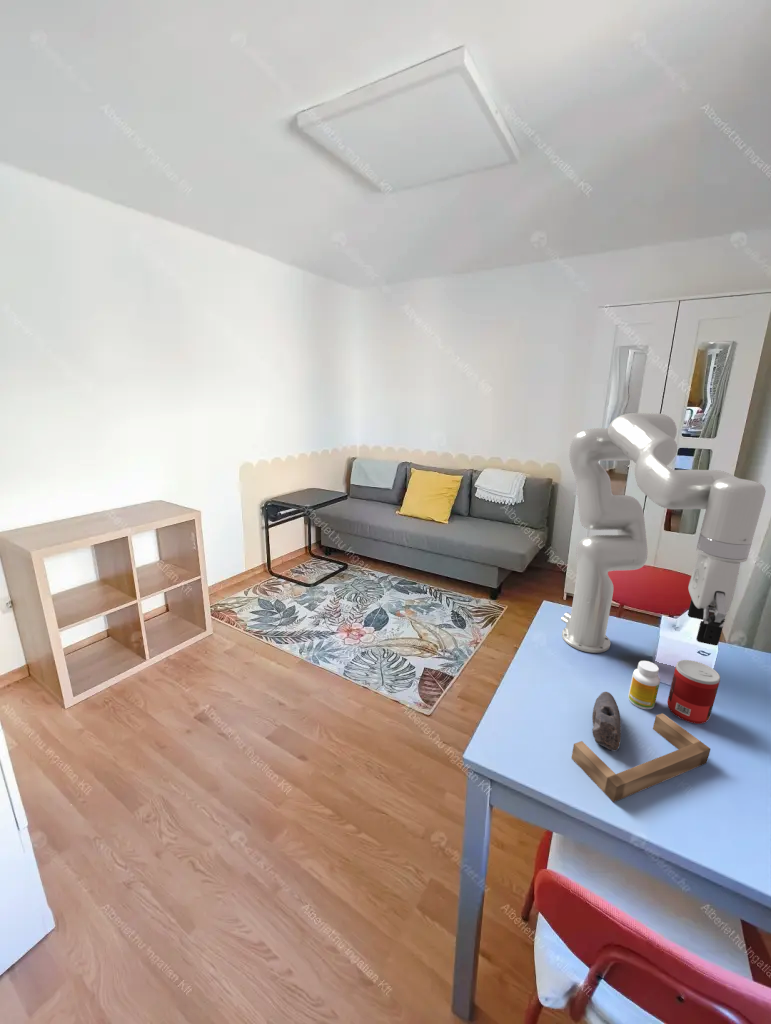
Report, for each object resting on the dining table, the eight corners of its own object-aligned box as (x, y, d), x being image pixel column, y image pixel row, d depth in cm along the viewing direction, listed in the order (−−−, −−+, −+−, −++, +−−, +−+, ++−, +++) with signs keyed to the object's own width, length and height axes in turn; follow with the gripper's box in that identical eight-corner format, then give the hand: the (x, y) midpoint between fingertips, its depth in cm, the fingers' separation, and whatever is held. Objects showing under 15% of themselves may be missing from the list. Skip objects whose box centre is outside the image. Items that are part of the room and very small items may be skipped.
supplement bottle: (655, 713, 98) (664, 676, 95) (628, 705, 100) (636, 669, 97) (653, 698, 102) (661, 662, 100) (627, 691, 104) (634, 656, 102)
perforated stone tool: (591, 703, 100) (596, 678, 98) (616, 711, 98) (622, 685, 96) (588, 750, 87) (594, 722, 85) (618, 760, 85) (624, 731, 83)
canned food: (716, 727, 94) (728, 684, 91) (674, 721, 95) (685, 678, 92) (699, 703, 101) (709, 662, 98) (661, 697, 102) (670, 657, 99)
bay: (571, 758, 85) (573, 743, 84) (659, 726, 94) (662, 713, 93) (613, 802, 76) (616, 786, 75) (706, 763, 85) (710, 748, 84)
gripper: (690, 529, 88) (672, 605, 93) (707, 559, 73) (685, 648, 78) (735, 535, 85) (715, 613, 90) (764, 568, 70) (737, 660, 75)
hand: (701, 629), depth 84 cm, fingers open, 9 cm apart
